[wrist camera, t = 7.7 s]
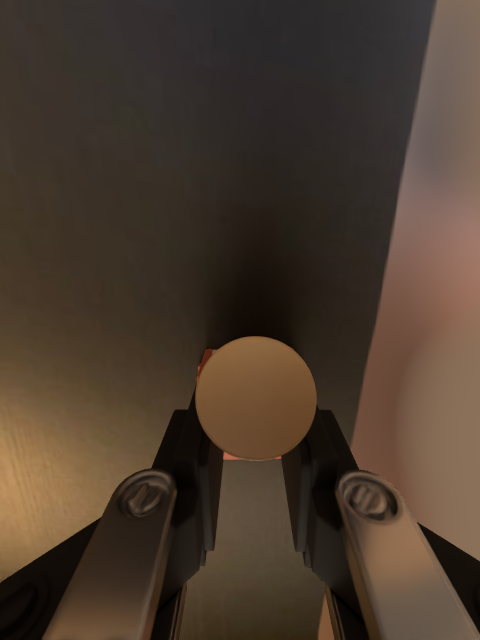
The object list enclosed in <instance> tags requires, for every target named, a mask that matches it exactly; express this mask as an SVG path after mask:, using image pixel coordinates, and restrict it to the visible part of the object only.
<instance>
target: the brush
mask: <svg viewBox="0 0 480 640" xmlns="http://www.w3.org/2000/svg"><path fill="white" fill-rule="evenodd" d="M195 401H196V410H197V414H198V418H199V421H200V423H201V425H202V427H203V429H204V431H205V433H206V434H207V436H208V437H209V438H210V439H211V440H212V442H213V443H214V444H215V445H217V446H218V447H219V448H220V449H221V450H223V451H224V452H226V453H228V454H230V455H232V456H234V457H237V458H239V459H243V460H248V461H265V460H270V459H274V458H277V457H279V456H282V455H284V454H285V453H287V452H289V451H290V450H292V449H293V448H294V447H295V446H296V445H297V444H299V443H300V442H301V440H302V439H303V438H304V436H305V435H306V434H307V432H308V430H309V428H310V426H311V424H312V422H313V419H314V415H315V411H316V388H315V384H314V380H313V377H312V375H311V372H310V370H309V368H308V367H307V365H306V363H305V362H304V361H303V359H302V358H301V357H300V356H299V355H298V354H297V353H296V352H295V351H294V350H293V349H291V348H290V347H289V346H287V345H285V344H284V343H282V342H279V341H277V340H274V339H271V338H267V337H261V336H250V337H243V338H239V339H236V340H233V341H231V342H229V343H227V344H225V345H224V346H222V347H221V348H219V349H218V350H213V351H212V356H211V357H210V358H209V359H208V360H207V362H206V364H205V365H204V367H203V369H202V371H201V373H200V375H199V378H198V381H197V386H196V394H195Z"/></svg>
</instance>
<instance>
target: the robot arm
mask: <svg viewBox="0 0 480 640" xmlns="http://www.w3.org/2000/svg"><path fill="white" fill-rule="evenodd" d="M200 373H201V372H200ZM196 386H197V384H196ZM195 394H196V387H195V390H194V393H193V396H192V399H191V403H190V406H189V409H188V410H175V411H174V413H173V415H172V417H171V420H170V422H169V425H168V427H167V430H166V432H165V435H164V437H163V440H162V442H161V445H160V448H159V450H158V453H157V455H156V458H155V460H154V463H153V465H152V468H151V469H144V470H141V471H139V472H136V473H134V474H132V475H131V476H129V477H127V478H126V479H125V480H124V481H123V482H122V483H120V484H119V485H118V487H117V488H116V490H115V491H114V493H113V494H112V497H111V499H110V501H109V503H108V505H107V507H106V509H105V511H104V513H103V515H102V517H101V518H99V519H98V520H96V521H94V522H93V523H91V524H90V525H88V526H87V527H85V528H84V529H82V530H81V531H79V532H77V533H76V534H74V535H73V536H71V537H70V538H68V539H67V540H65V541H64V542H62V543H60V544H59V545H57V546H56V547H54V548H53V549H51V550H50V551H48V552H47V553H45V554H43V555H42V556H40V557H39V558H37V559H36V560H34V561H33V562H31V563H30V564H28V565H26V566H25V567H23V568H22V569H20V570H19V571H17V572H16V573H14V574H13V575H11V576H9V577H8V578H6V579H5V580H4V581H2V582H1V583H0V640H179V635H180V629H181V622H182V616H183V609H184V603H185V596H186V590H187V581H188V580H189V579H190V578H191V577H192V576H193V575H194V574H195V573H196V572H197V571H198V570H199V568H200V566H205V561H206V553H207V551H214V547H215V537H216V528H217V518H218V508H219V498H220V488H221V478H222V468H223V458H224V451H223V450H221V449H220V448H219V447H218V446H217V445H215V444H214V443H213V442H212V440H211V439H210V438H209V437H208V436H207V434H206V433H205V431H204V429H203V427H202V425H201V423H200V421H199V418H198V414H197V410H196V401H195ZM281 460H282V467H283V474H284V480H285V487H286V494H287V501H288V507H289V514H290V521H291V528H292V534H293V541H294V547H295V551H296V552H303V558H304V564H305V568H312V571H313V572H314V573H315V574H316V575H317V576H318V577H319V578H320V579H321V580H322V581H323V582H324V585H325V594H326V599H327V604H328V609H329V613H330V619H331V624H332V629H333V634H334V639H335V640H480V561H478V560H477V559H475V558H474V557H472V556H470V555H469V554H467V553H466V552H464V551H462V550H461V549H459V548H457V547H456V546H455V545H453V544H451V543H450V542H448V541H447V540H445V539H443V538H442V537H440V536H438V535H437V534H435V533H434V532H432V531H431V530H429V529H427V528H426V527H424V526H422V525H421V524H419V523H418V522H416V520H415V518H414V516H413V515H412V513H411V511H410V509H409V507H408V506H407V504H406V502H405V500H404V499H403V497H402V495H401V494H400V493H399V492H398V490H397V489H396V487H394V486H393V485H392V484H391V483H390V482H389V481H388V480H386V479H384V478H383V477H381V476H379V475H377V474H375V473H372V472H369V471H365V470H359V468H358V466H357V464H356V462H355V459H354V457H353V455H352V453H351V451H350V449H349V446H348V444H347V442H346V440H345V438H344V436H343V434H342V431H341V429H340V427H339V425H338V423H337V421H336V419H335V416H334V414H333V412H332V411H331V410H319V408H318V406H317V403H316V411H315V415H314V419H313V422H312V424H311V426H310V428H309V430H308V432H307V434H306V435H305V436H304V438H303V439H302V440H301V442H300V443H299V444H297V445H296V446H295V447H294V448H293V449H292V450H290V451H289V452H287V453H285V454H284V455H282V456H281Z"/></svg>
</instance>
